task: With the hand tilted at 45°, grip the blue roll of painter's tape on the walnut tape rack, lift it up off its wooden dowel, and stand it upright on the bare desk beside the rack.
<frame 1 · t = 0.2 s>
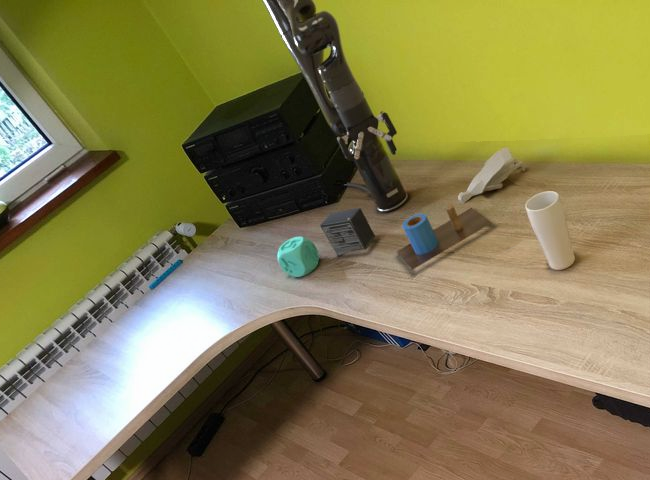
hand: (379, 162, 163), 18 cm above the table, tool pointing down, fingers open, 8 cm apart
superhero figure: (493, 188, 167), on the table
small box: (358, 249, 172), on the table
tape roll: (426, 246, 155), point 1 cm above the table, touching tape rack
decorative dice: (306, 268, 176), on the table
drinking glass: (563, 263, 130), on the table
tape rack: (444, 242, 156), on the table
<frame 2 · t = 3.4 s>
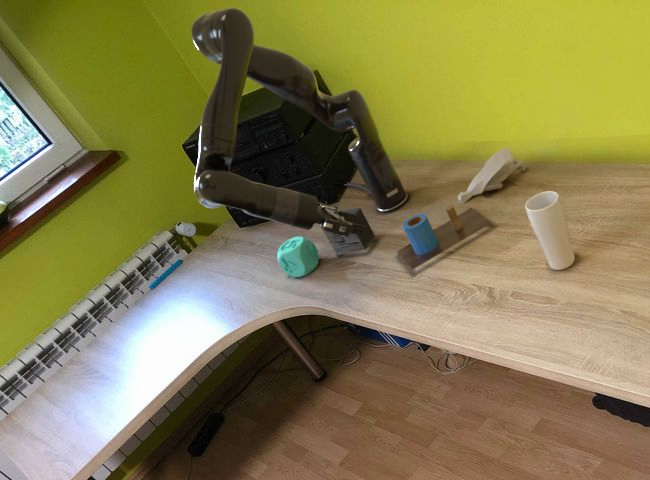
hand: (361, 225, 146), 15 cm above the table, tool tilted 45°, fingers open, 8 cm apart
nothing on the table moved.
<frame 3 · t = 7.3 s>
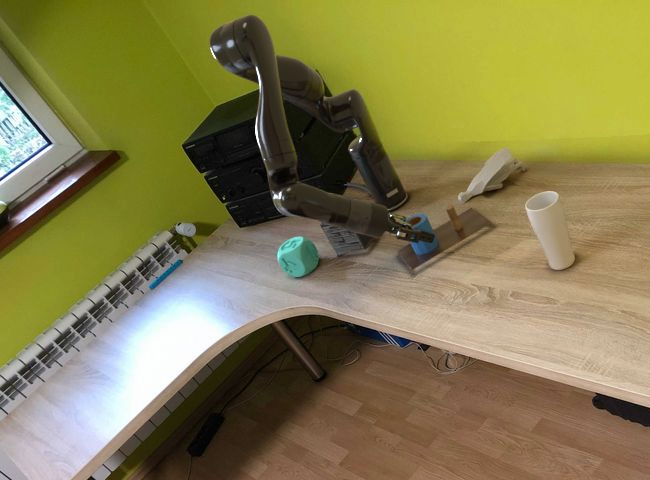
hand: (428, 233, 153), 4 cm above the table, tool tilted 45°, fingers closed on tape roll, 6 cm apart
tape roll: (426, 246, 155), point 2 cm above the table, touching gripper, tape rack
everything else where it was.
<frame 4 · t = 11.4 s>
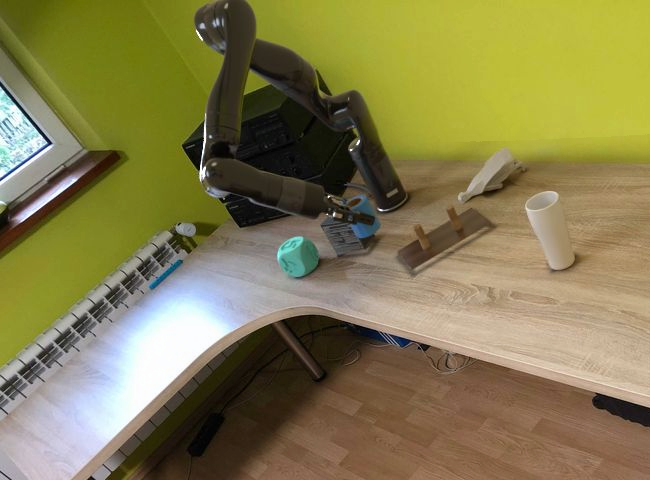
hand: (369, 216, 146), 16 cm above the table, tool tilted 45°, fingers closed on tape roll, 6 cm apart
tape roll: (368, 230, 147), point 13 cm above the table, touching gripper
everything else where it was.
when the fingers open (3 cm above the table, at t = 15.5 s): tape roll stays where it is, on the table.
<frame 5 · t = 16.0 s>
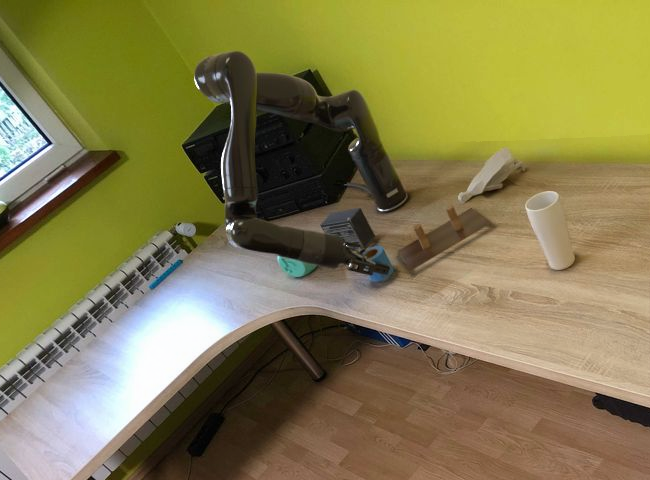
hand: (383, 263, 153), 4 cm above the table, tool tilted 45°, fingers open, 8 cm apart
tape roll: (384, 278, 155), on the table
everything else where it was.
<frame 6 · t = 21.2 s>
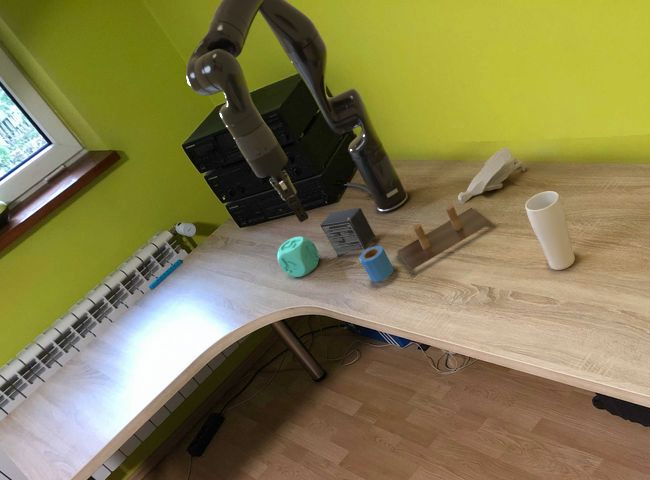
hand: (301, 213, 142), 23 cm above the table, tool pointing down, fingers open, 8 cm apart
nothing on the table moved.
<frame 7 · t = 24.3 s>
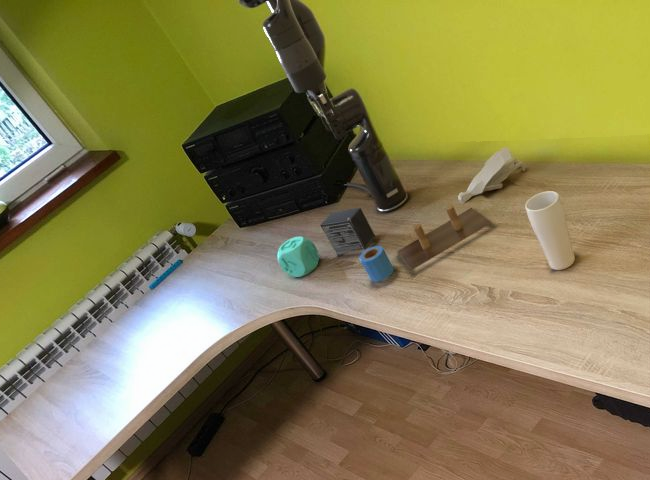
hand: (336, 133, 145), 32 cm above the table, tool pointing down, fingers open, 8 cm apart
nothing on the table moved.
at the end: tape roll touching table; tape roll inside the target area (0.1 cm from its centre), on the table; tape roll tilted 0° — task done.
